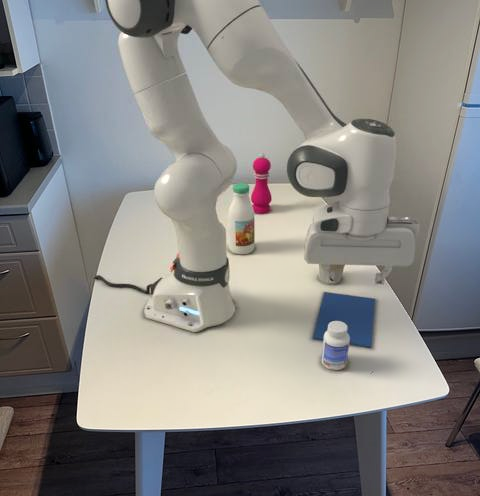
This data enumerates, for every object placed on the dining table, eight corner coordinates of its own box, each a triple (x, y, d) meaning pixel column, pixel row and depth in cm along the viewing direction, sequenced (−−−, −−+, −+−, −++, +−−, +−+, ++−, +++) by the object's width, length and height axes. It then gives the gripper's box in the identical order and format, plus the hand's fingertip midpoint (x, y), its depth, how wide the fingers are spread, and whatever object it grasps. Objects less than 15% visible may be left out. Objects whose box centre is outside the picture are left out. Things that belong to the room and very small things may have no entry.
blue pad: (313, 339, 112) (313, 337, 112) (324, 293, 128) (324, 291, 128) (370, 348, 110) (371, 346, 109) (374, 300, 125) (375, 298, 125)
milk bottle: (226, 253, 147) (224, 189, 135) (232, 242, 153) (231, 179, 141) (251, 256, 145) (251, 191, 133) (256, 244, 151) (257, 181, 140)
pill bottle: (350, 368, 104) (355, 332, 98) (326, 372, 103) (330, 335, 97) (340, 352, 108) (345, 317, 103) (317, 356, 108) (321, 320, 102)
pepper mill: (248, 207, 175) (248, 151, 163) (267, 205, 176) (268, 149, 165) (254, 215, 169) (255, 157, 157) (274, 213, 171) (276, 155, 159)
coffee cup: (346, 289, 130) (353, 238, 121) (310, 285, 131) (315, 235, 122) (347, 271, 137) (354, 222, 128) (313, 268, 139) (318, 219, 130)
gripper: (418, 210, 89) (406, 275, 97) (306, 208, 92) (303, 272, 100) (425, 224, 84) (411, 292, 92) (305, 222, 87) (302, 289, 95)
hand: (354, 282), depth 96 cm, fingers open, 8 cm apart
